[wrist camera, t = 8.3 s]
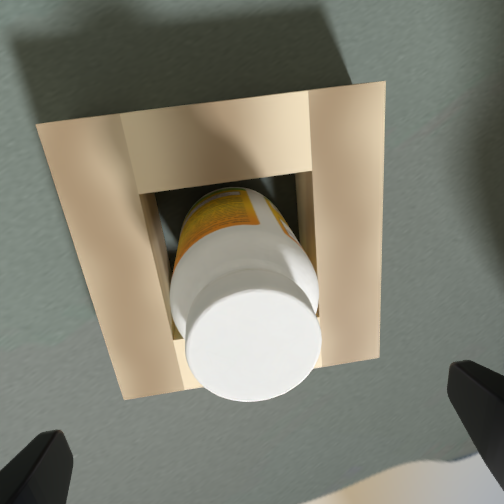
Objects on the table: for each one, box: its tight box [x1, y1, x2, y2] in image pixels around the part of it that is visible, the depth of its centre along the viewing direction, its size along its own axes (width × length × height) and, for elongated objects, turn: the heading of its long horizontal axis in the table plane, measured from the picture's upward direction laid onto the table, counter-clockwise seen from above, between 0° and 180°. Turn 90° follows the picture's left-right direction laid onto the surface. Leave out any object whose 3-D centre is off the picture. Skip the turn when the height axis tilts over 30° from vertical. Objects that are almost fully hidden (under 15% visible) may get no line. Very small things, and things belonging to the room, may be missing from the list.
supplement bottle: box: [170, 187, 322, 402], centre depth 15 cm, size 5×5×10 cm
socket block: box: [36, 81, 386, 400], centre depth 18 cm, size 13×13×4 cm
